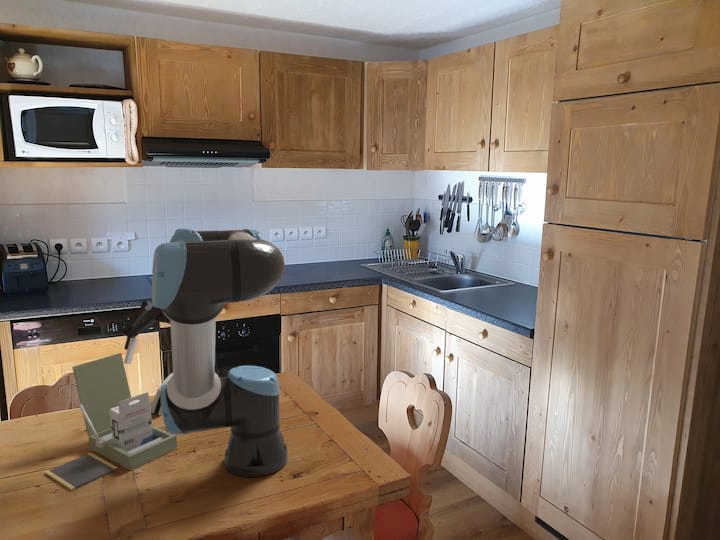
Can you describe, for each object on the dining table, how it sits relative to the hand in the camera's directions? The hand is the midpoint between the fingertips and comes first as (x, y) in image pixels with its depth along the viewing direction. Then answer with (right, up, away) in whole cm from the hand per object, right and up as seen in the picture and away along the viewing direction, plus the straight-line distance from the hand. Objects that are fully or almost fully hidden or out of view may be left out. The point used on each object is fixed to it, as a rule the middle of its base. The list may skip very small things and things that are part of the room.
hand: (152, 369), depth 140 cm
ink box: (-5, -21, +1) cm, 21 cm away
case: (-8, -20, +2) cm, 22 cm away
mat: (-13, -22, -10) cm, 28 cm away
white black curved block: (-6, -16, +28) cm, 33 cm away
